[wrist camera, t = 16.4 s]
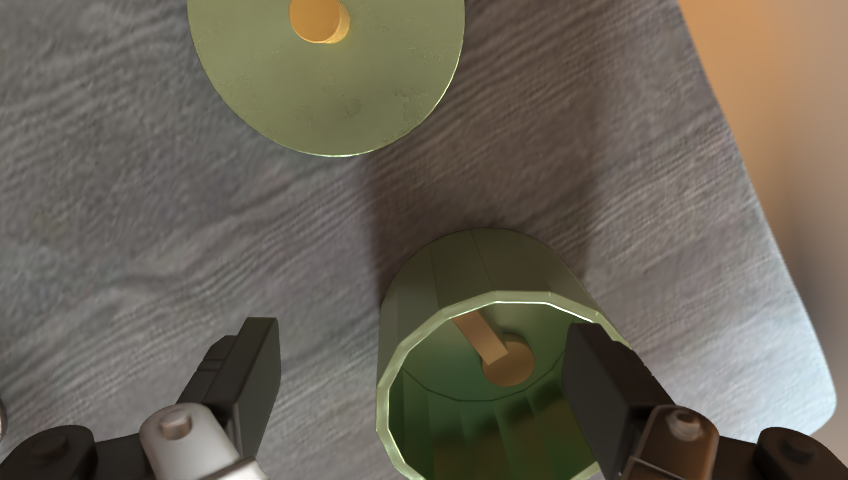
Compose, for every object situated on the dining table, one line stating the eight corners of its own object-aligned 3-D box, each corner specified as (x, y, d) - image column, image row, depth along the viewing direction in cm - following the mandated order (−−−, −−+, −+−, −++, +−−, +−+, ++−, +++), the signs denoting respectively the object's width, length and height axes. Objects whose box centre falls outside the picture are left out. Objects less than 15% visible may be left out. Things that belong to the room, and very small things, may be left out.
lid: (161, 88, 30) (106, 98, 24) (243, -200, 25) (199, -271, 20) (398, 191, 33) (398, 221, 27) (509, -50, 28) (537, -75, 23)
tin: (349, 366, 37) (335, 466, 29) (433, 193, 33) (447, 247, 24) (519, 427, 40) (554, 534, 31) (617, 275, 36) (690, 350, 27)
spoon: (419, 289, 35) (421, 308, 32) (466, 258, 34) (471, 276, 32) (497, 385, 38) (504, 410, 35) (540, 359, 37) (551, 382, 35)
